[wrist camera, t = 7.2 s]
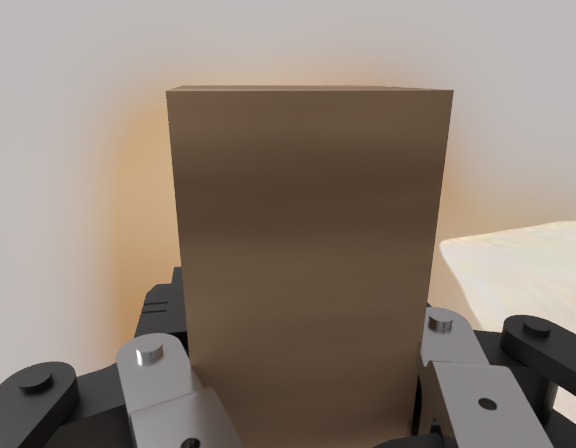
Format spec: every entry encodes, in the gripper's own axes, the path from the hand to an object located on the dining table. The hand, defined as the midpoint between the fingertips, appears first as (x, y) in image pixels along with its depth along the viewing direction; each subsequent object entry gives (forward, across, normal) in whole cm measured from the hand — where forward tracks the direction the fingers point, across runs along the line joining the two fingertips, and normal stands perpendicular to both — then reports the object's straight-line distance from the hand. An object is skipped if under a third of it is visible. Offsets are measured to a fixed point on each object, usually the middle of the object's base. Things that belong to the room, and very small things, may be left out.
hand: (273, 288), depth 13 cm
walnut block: (-3, 0, +8) cm, 9 cm away
